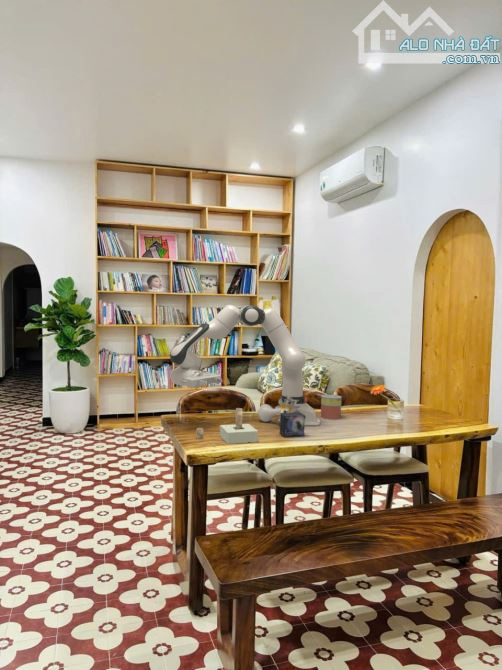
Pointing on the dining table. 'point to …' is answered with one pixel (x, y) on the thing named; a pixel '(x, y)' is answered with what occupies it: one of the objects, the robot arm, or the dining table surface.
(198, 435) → the short pin
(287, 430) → the small box
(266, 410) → the flower vase
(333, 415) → the canned food
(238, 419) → the tall pin
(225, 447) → the dining table surface
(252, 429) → the grey flat block
